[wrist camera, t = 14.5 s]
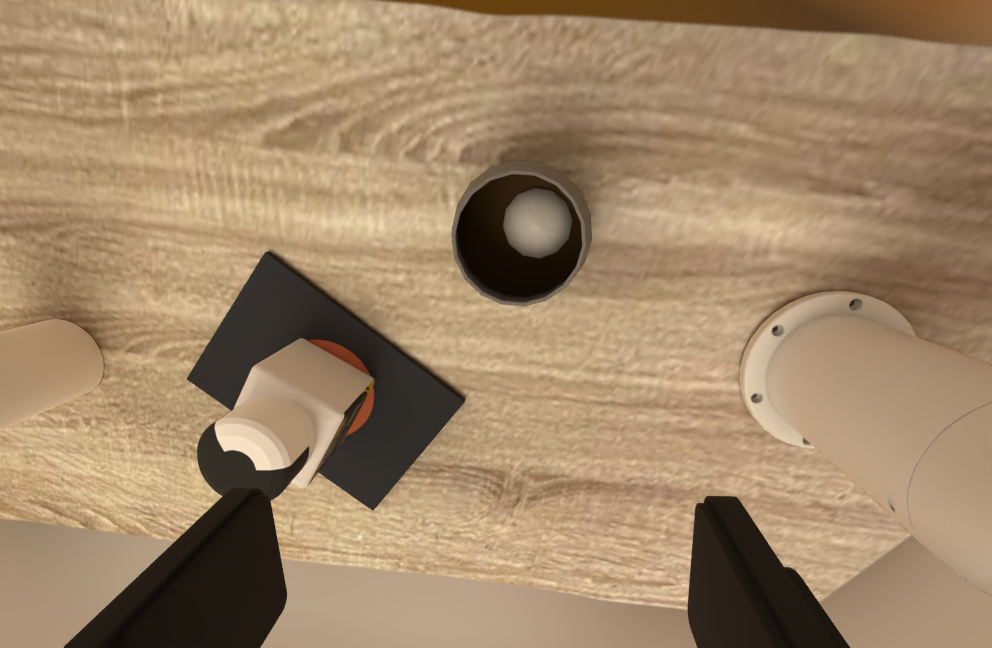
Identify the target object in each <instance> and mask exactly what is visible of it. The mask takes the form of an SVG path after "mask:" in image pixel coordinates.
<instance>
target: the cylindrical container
mask: <svg viewBox="0 0 992 648" xmlns="http://www.w3.org/2000/svg"><path fill="white" fill-rule="evenodd" d="M103 372H104V362H103V358H102V354H101V352H100V349H99V347H98V345H97V344H96V342H95V341H94V339H93V338H92V337H91V336H90V335H89V334H88V333H87V332H86V331H85V330H83V329H82V328H81V327H79V326H77V325H76V324H74V323H71V322H69V321H65V320H60V319H51V320H47V321H43V322H39V323H35V324H30V325H26V326H22V327H18V328H14V329H10V330H6V331H2V332H0V431H1V430H3V429H6V428H8V427H10V426H12V425H15V424H17V423H19V422H22V421H24V420H26V419H29V418H31V417H33V416H36V415H38V414H40V413H42V412H45V411H47V410H49V409H52V408H54V407H56V406H59V405H61V404H63V403H65V402H68V401H70V400H72V399H75V398H77V397H79V396H82V395H84V394H86V393H88V392H90V391H92V390H94V389H95V388H96V387H97V386H98V384H99V383H100V382H101V379H102V377H103Z"/></svg>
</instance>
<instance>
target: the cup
mask: <svg viewBox="0 0 992 648" xmlns="http://www.w3.org/2000/svg"><path fill="white" fill-rule="evenodd" d="M591 240H592V233H591V214H590V212H589V209H588V207H587V205H586V202H585V200H584V197H583V195H582V193H581V191H580V190H579V189H578V188H577V186H576V185H575V184H574V183H573V182H572V181H571V180H570V179H569V178H568V177H567V176H566V175H565V174H564V173H563V172H561V171H559V170H557V169H555V168H552V167H550V166H548V165H546V164H544V163H542V162H536V161H523V160H513V161H510V162H507V163H503V164H500V165H497V166H494V167H491V168H489V169H488V170H487V171H485V172H484V173H483V174H482V175H480V176H479V177H478V178H476V179H475V180H474V181H472V182H471V183H470V185H469V187H468V188H467V190H466V191H465V193H464V194H463V196H462V198H461V199H460V201H459V202H458V204H457V209H456V213H455V218H454V222H453V227H452V243H453V251H454V259H455V261H456V263H457V265H458V267H459V269H460V271H461V273H462V275H463V277H464V279H465V280H466V281H467V282H468V283H469V284H470V285H471V286H472V287H473V288H474V289H475V290H477V291H478V292H479V293H480V294H481V295H483V296H485V297H487V298H489V299H491V300H493V301H496V302H498V303H500V304H505V305H515V306H527V305H531V304H535V303H539V302H543V301H546V300H548V299H549V298H551V297H552V296H554V295H555V294H557V293H558V292H560V291H561V290H563V289H564V288H565V287H566V286H567V285H568V284H569V283H570V282H571V280H572V279H573V278H574V276H575V275H576V274H577V272H578V271H579V270H580V268H581V267H582V266H583V264H584V263H585V260H586V257H587V253H588V250H589V247H590V243H591Z"/></svg>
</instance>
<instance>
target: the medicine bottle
mask: <svg viewBox="0 0 992 648" xmlns="http://www.w3.org/2000/svg"><path fill="white" fill-rule="evenodd" d="M374 382H375V380H374V378H373V377H371V376H369V375H367V374H366V373H364V372H362V371H360V370H359V369H357V368H355V367H353V366H351V365H350V364H348V363H346V362H344V361H343V360H341V359H339V358H337V357H336V356H334V355H332V354H330V353H328V352H327V351H325V350H323V349H321V348H320V347H318V346H316V345H314V344H312V343H311V342H309V341H307V340H305V339H303V338H301V339H298V340H297V341H295V342H293V343H291V344H290V345H288V346H286V347H285V348H283V349H281V350H280V351H278V352H276V353H275V354H273V355H271V356H270V357H268V358H266V359H264V360H263V361H261V362H259V363H258V364H256V365H254V366H253V368H252V369H251V371H250V374H249V376H248V378H247V380H246V382H245V385H244V387H243V389H242V391H241V394H240V396H239V398H238V400H237V402H236V405H235V407H234V409H233V410H232V411H230V412H229V413H227V414H226V415H224V416H223V417H221V418H220V419H219V420H217V421H216V422H214V423H213V424H211V425H210V426H209V427H208V428H207V429H206V430H205V431H204V432H203V434H202V436H201V438H200V440H199V443H198V448H197V458H198V465H199V468H200V471H201V473H202V475H203V477H204V479H205V480H206V482H207V483H208V484H209V485H210V486H211V487H212V488H213V489H214V490H215V491H216V492H217V493H218V494H220V495H222V496H224V495H225V494H226V493H227V492H228V491H229V490H231V489H232V488H259V489H261V490H262V491H263V493H264V495H267V496H268V497H269V498H270V500H273V499H274V498H276V497H277V496H279V495H280V494H281V493H282V492H283V491H284V489H285V488H286V487H287V486H288V485H289V484H290V483H293V484H294V485H296V486H298V487H300V488H305V487H307V486H308V485H309V483H310V482H311V481H312V480H313V478H314V477H315V476H316V475H317V473H318V472H319V471H320V470H321V468H322V467H323V466H324V465H325V463H326V462H327V461H328V460H329V458H330V457H331V456H332V455H333V453H334V452H335V451H336V450H337V448H338V447H339V446H340V445H341V443H342V442H343V440H344V438H345V436H346V435H347V433H348V431H349V429H350V427H351V425H352V424H353V422H354V420H355V418H356V416H357V414H358V412H359V411H360V409H361V407H362V405H363V403H364V401H365V400H366V398H367V396H368V394H369V392H370V390H371V389H372V387H373V385H374Z"/></svg>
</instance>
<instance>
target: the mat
mask: <svg viewBox="0 0 992 648" xmlns="http://www.w3.org/2000/svg"><path fill="white" fill-rule="evenodd" d="M301 338H303V339H305V340H307V341H309V342H311V343H312V344H314V345H316V346H318V347H320V348H321V349H323V350H325V351H327V352H328V353H330V354H332V355H334V356H336V357H337V358H339V359H341V360H343V361H344V362H346V363H348V364H350V365H351V366H353V367H355V368H357V369H359V370H360V371H362V372H364V373H366V374H367V375H369V376H371V377H373V378H374V380H375V382H374V385H373V387H372V389H371V390H370V392H369V394H368V396H367V398H366V400H365V401H364V403H363V405H362V407H361V409H360V411H359V412H358V414H357V416H356V418H355V420H354V422H353V424H352V425H351V427H350V429H349V431H348V433H347V435H346V436H345V438H344V440H343V442H342V443H341V445H340V446H339V447H338V448H337V450H336V451H335V452H334V453H333V455H332V456H331V457H330V458H329V460H328V461H327V462H326V463H325V465H324V466H323V467H322V468H321V470H320V471H319V473H320V474H322V475H323V476H325V477H326V478H327V479H329V480H330V481H332V482H333V483H334V484H336V485H337V486H339V487H340V488H342V489H343V490H344V491H346V492H347V493H349V494H350V495H351V496H353V497H354V498H356V499H357V500H358V501H360V502H361V503H363V504H364V505H366V506H367V507H368V508H370V509H371V510H374V509H375V508H376V507H377V505H378V504H379V503H380V502H381V501H382V500H383V498H384V497H385V496H386V495H387V494H388V492H389V491H390V490H391V489H392V488H393V486H394V485H395V484H396V483H397V482H398V480H399V479H400V478H401V477H402V476H403V475H404V473H405V472H406V471H407V470H408V469H409V467H410V466H411V465H412V464H413V463H414V461H415V460H416V459H417V458H418V457H419V455H420V454H421V453H422V452H423V451H424V450H425V448H426V447H427V446H428V445H429V444H430V442H431V441H432V440H433V439H434V438H435V436H436V435H437V434H438V433H439V432H440V430H441V429H442V428H443V427H444V426H445V425H446V423H447V422H448V421H449V420H450V419H451V417H452V416H453V415H454V414H455V413H456V411H457V410H458V409H459V408H460V407H461V405H462V404H463V403H464V402H465V398H463V397H462V396H461V395H459V394H458V393H457V392H455V391H454V390H453V389H451V388H450V387H449V386H447V385H446V384H445V383H443V382H442V381H441V380H439V379H438V378H437V377H435V376H434V375H433V374H431V373H430V372H429V371H427V370H426V369H425V368H423V367H422V366H421V365H419V364H418V363H417V362H415V361H414V360H413V359H411V358H410V357H409V356H407V355H406V354H405V353H403V352H402V351H401V350H399V349H398V348H397V347H395V346H394V345H393V344H391V343H390V342H389V341H387V340H386V339H385V338H383V337H382V336H381V335H379V334H378V333H377V332H375V331H374V330H373V329H371V328H370V327H369V326H368V325H366V324H365V323H364V322H362V321H361V320H360V319H358V318H357V317H356V316H354V315H353V314H352V313H350V312H349V311H348V310H346V309H345V308H344V307H342V306H341V305H340V304H338V303H337V302H336V301H334V300H333V299H332V298H330V297H329V296H328V295H326V294H325V293H324V292H322V291H321V290H320V289H318V288H317V287H316V286H314V285H313V284H312V283H310V282H309V281H308V280H306V279H305V278H304V277H302V276H301V275H300V274H298V273H297V272H296V271H294V270H293V269H292V268H290V267H289V266H288V265H286V264H285V263H284V262H282V261H281V260H280V259H278V258H277V257H276V256H274V255H273V254H272V253H270V252H265V254H264V255H263V257H262V258H261V260H260V262H259V263H258V265H257V266H256V268H255V270H254V271H253V273H252V274H251V276H250V278H249V279H248V281H247V282H246V284H245V286H244V287H243V289H242V291H241V292H240V294H239V295H238V297H237V299H236V300H235V302H234V303H233V305H232V307H231V308H230V310H229V311H228V313H227V315H226V316H225V318H224V320H223V321H222V323H221V324H220V326H219V328H218V329H217V331H216V332H215V334H214V336H213V337H212V339H211V340H210V342H209V344H208V345H207V347H206V348H205V350H204V352H203V353H202V355H201V357H200V358H199V360H198V361H197V363H196V365H195V366H194V368H193V369H192V371H191V373H190V374H189V376H188V377H187V380H189V381H190V382H192V383H193V384H194V385H196V386H197V387H199V388H200V389H201V390H203V391H204V392H206V393H207V394H209V395H210V396H211V397H213V398H214V399H216V400H217V401H218V402H220V403H221V404H223V405H224V406H226V407H227V408H228V409H230V410H231V411H232V410H233V409H234V407H235V405H236V402H237V400H238V398H239V396H240V394H241V391H242V389H243V387H244V385H245V382H246V380H247V378H248V376H249V374H250V371H251V369H252V368H253V366H254V365H256V364H258V363H259V362H261V361H263V360H264V359H266V358H268V357H270V356H271V355H273V354H275V353H276V352H278V351H280V350H281V349H283V348H285V347H286V346H288V345H290V344H291V343H293V342H295V341H297V340H298V339H301Z"/></svg>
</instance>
